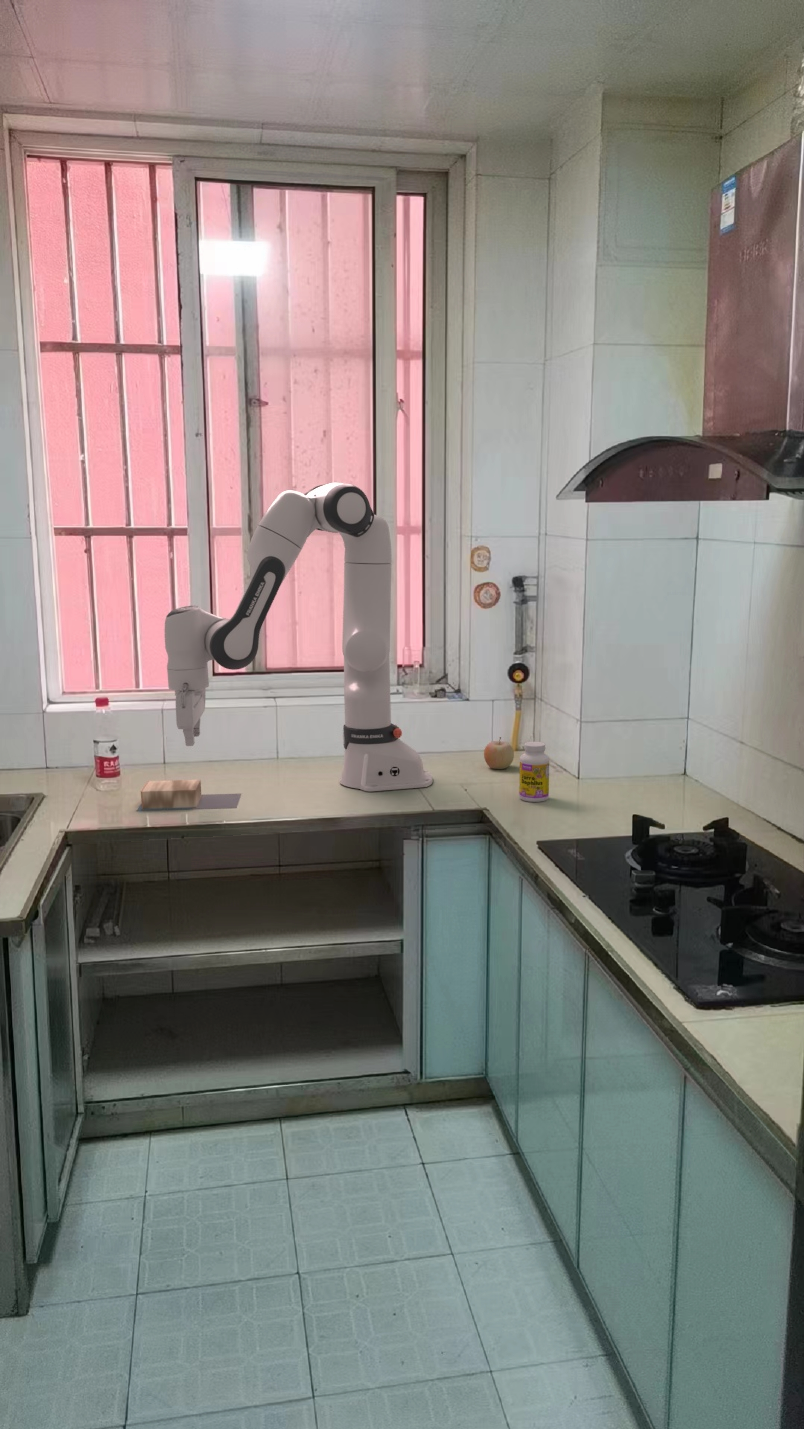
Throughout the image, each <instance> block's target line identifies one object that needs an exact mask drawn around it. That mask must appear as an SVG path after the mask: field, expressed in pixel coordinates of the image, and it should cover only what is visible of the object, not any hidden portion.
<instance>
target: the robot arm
mask: <svg viewBox="0 0 804 1429" xmlns="http://www.w3.org/2000/svg"><path fill="white" fill-rule="evenodd" d="M315 530H317V531H321V532H328V533H332V534H333V533H335V534H338V533H339V535H340V536H341V538H342V542H343V546H344V559H343V560H344V562H343V563H344V564H343V565H344V566H343V567H344V569H343V604H342V605H343V608H342V609H343V610H342V614H343V615H342V642H341V643H342V644H341V645H342V646H341V647H342V654H343V683H344V684H343V685H344V686H343V693H344V694H343V695H344V696H343V697H344V698H343V700H344V701H343V702H344V725H343V730H342V743H343V748H344V756H343V764H342V765H343V766H342V770H341V775H340V779H339V783H340V785H342V786H345V787H348V788H353V789H360V790H361V791H364V792H382V791H390V790H391V791H392V790H406V789H414V788H415V789H417V788H428V787H430V786H431V785H432V784H433V783H434V781H433V775H432V773H431V772H429V771H428V770H425V769H424V763H423V760H422V757H421V755H420V753H418V751H416V750H415V749H414V748H412V747H411V746H409V745H408V744H407V743H405V742H404V741H402V740H401V739H400V738H401V737H402V735H403V733H402V732H403V731H402V729H401V728H400V727H399V726H398V725H397V724H394V723H392V721H391V720H392V715H391V713H392V712H391V709H392V708H391V705H392V704H391V677H390V676H391V675H390V671H391V670H390V666H391V665H390V651H391V650H390V649H391V604H392V603H391V602H392V601H391V596H392V595H391V594H392V591H391V590H392V541H391V540H392V539H391V535H390V529H389V524H388V522H387V521H386V520H385V519H384V518H383V517H381V516H379V515H377V514H375V513H374V511H373V509H372V508H371V504H370V501H369V499H368V496H367V495H366V493H365V492H364V491H363V489H361V488H359V487H358V486H356V485H354V484H351V483H342V482H331V483H328V484H320V485H317V486H314V487H313V488H311V489H310V490H308V491H307V492H305V493H301V492H300V491H296V490H285V491H282V492H281V493H279V494H278V496H276V498H275V499H274V500H273V502H272V503H271V504H270V506H269V507H268V509H267V510H266V511H265V513H264V515H262V518H261V519H260V521H259V523H258V525H257V527H256V528H255V530H254V532H253V533H252V536H251V539H250V540H249V541H250V542H249V545H248V547H247V551H246V555H247V556H246V558H247V561H248V565H249V573H250V574H249V581H248V585H247V586H246V589H245V591H244V593H243V595H242V596H241V598H240V599H241V600H240V602H239V603H238V606H237V608H236V610H235V611H234V614H233V615H232V616H231V617H230V618H226V617H221V616H218V615H216V614H212V613H211V612H209V611H206V610H204V609H203V608H201V607H200V606H199V605H186V606H181V607H178V608H174V609H173V610H171V611H170V612H168V614H167V615H166V616H165V620H164V645H165V646H164V648H165V651H166V654H167V665H166V670H167V672H166V673H167V684H168V689H169V690H171V691H174V696H175V718H176V719H175V721H176V727H177V729H178V730H182V733H183V736H184V740H185V741H184V742H185V745H186V747H193V746H194V745H195V742H196V741H195V737H196V738H197V737H199V736H200V734H201V717H202V715H203V714H204V713H205V709H206V688H208V687H209V686H210V682H209V681H210V680H209V668H208V662H209V661H215V662H216V663H217V664H218V665H219V666H220V667H222V668H224V669H227V670H232V671H233V670H234V671H235V670H241V669H244V668H245V667H248V666H249V665H250V664H251V663H252V662H253V661H254V660H255V658H256V656H257V654H258V650H259V644H260V643H259V642H260V634H261V633H260V632H261V628H262V627H263V623H264V621H265V620H266V617H267V615H268V613H269V611H270V608H271V607H272V604H273V603H274V600H275V598H276V596H277V593H278V591H279V589H280V587H281V586H282V583H283V581H284V580H285V579H286V577H287V575H288V573H289V572H290V570H291V568H292V567H293V566H294V564H295V562H296V560H297V559H298V557H299V555H300V553H301V551H302V549H303V547H304V546H305V544H306V541H307V539H308V538H309V537H310V535H311V534H312V533H313V532H314V531H315Z"/></svg>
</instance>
